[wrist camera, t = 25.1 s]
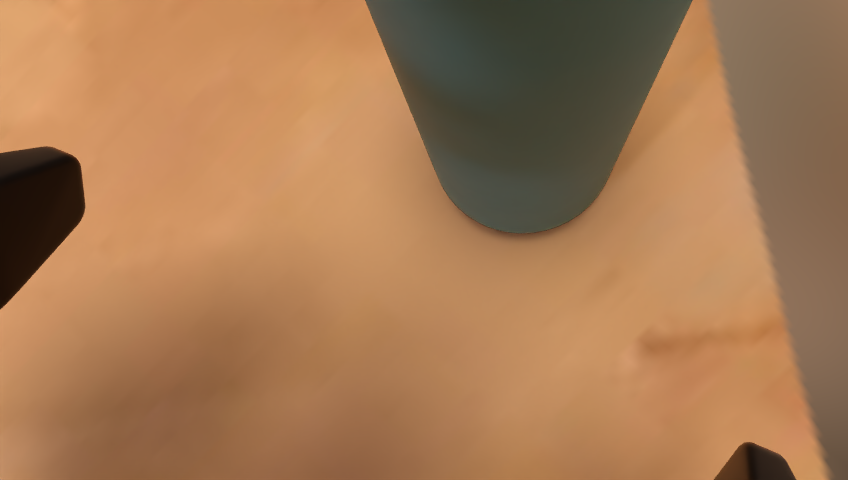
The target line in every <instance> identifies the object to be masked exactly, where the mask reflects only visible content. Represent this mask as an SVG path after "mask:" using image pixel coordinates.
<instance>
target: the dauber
mask: <svg viewBox="0 0 848 480" xmlns="http://www.w3.org/2000/svg"><path fill="white" fill-rule="evenodd" d="M365 1H366V4H367V6H368V8H369V11H370V13H371V16H372V18H373V21H374V23H375V25H376V28H377V30H378V33H379V35H380V38H381V40H382V42H383V45H384V47H385V50H386V52H387V55H388V57H389V59H390V62H391V64H392V67H393V69H394V72H395V74H396V77H397V79H398V81H399V84H400V86H401V89H402V91H403V94H404V96H405V98H406V101H407V103H408V106H409V108H410V111H411V113H412V115H413V118H414V120H415V123H416V125H417V128H418V130H419V132H420V135H421V137H422V140H423V142H424V145H425V147H426V149H427V152H428V154H429V157H430V159H431V162H432V164H433V167H434V169H435V171H436V174H437V176H438V179H439V181H440V183H441V185H442V187H443V189H444V190H445V192H446V193H447V195H448V197H449V198H450V199H451V200H452V201H453V203H454V204H455V205H456V206H457V207H458V208H459V209H460V210H461V211H463V212H464V213H465V214H466V215H467V216H469V217H470V218H472V219H473V220H475V221H477V222H479V223H481V224H483V225H485V226H487V227H490V228H493V229H496V230H500V231H505V232H510V233H535V232H540V231H545V230H549V229H552V228H555V227H558V226H560V225H562V224H564V223H566V222H568V221H570V220H572V219H573V218H575V217H576V216H578V215H579V214H581V213H582V212H583V211H584V210H585V209H586V208H588V207H589V206H590V205H591V203H592V202H593V201H594V200H595V199H596V198H597V196H598V195H599V194H600V192H601V191H602V189H603V188H604V186H605V184H606V182H607V180H608V178H609V176H610V173H611V171H612V169H613V167H614V165H615V163H616V161H617V159H618V157H619V154H620V152H621V150H622V148H623V146H624V144H625V142H626V140H627V137H628V135H629V133H630V131H631V129H632V127H633V125H634V123H635V121H636V118H637V116H638V114H639V112H640V110H641V108H642V106H643V104H644V102H645V99H646V97H647V95H648V93H649V91H650V89H651V87H652V85H653V83H654V80H655V78H656V76H657V74H658V72H659V70H660V68H661V66H662V64H663V61H664V59H665V57H666V55H667V53H668V51H669V49H670V47H671V45H672V42H673V40H674V38H675V36H676V34H677V32H678V30H679V28H680V26H681V23H682V21H683V19H684V17H685V15H686V13H687V11H688V9H689V7H690V4H691V2H692V0H365Z"/></svg>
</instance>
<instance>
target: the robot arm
mask: <svg viewBox="0 0 848 480" xmlns="http://www.w3.org/2000/svg"><path fill="white" fill-rule="evenodd" d="M84 211H85V198H84V189H83V181H82V172H81V166H80V163H79V161H78V160H77V158H75V157H74V156H72V155H70V154H68V153H65V152H63V151H61V150H58V149H56V148H53V147H47V146H46V147H38V148H31V149H25V150H18V151H11V152H5V153H0V309H1V308H3V307H4V306H5V305H6V304H7V303H8V302H9V301H10V299H11V298H12V297H13V296H14V295H15V294H16V293H17V292H18V291H19V290H20V289H21V288H22V287H23V285H24V284H25V283H26V282H27V281H28V280H29V279H30V278H31V277H32V275H33V274H34V273H35V272H36V271H37V270H38V269H39V268H40V266H41V265H42V264H43V263H44V262H45V261H46V260H47V259H48V257H49V256H50V255H51V254H52V253H53V252H54V251H55V250H56V249H57V247H58V246H59V245H60V244H61V243H62V242H63V241H64V240H65V238H66V237H67V236H68V235H69V234H70V233H71V232H72V231H73V229H74V228H75V227H76V226H77V225H78V224H79V222H80V221H81V219H82V217H83V215H84ZM714 480H796V478H795V477H794V475H793V473H792V471H791V469H790V467H789V465H788V463H787V462H786V460H785V459H784V458H783V457H782V456H781V455H779V454H778V453H775V452H773V451H771V450H768V449H766V448H764V447H761V446H759V445H756V444H754V443H751V442H746V443H743V444H742V445H740V446H739V447H738V448H737V450H736V451H735V452H734V454H733V455H732V456H731V458H730V459H729V460H728V462H727V463H726V464H725V466H724V467H723V468H722V470H721V471H720V472H719V474H718V475H717V476H716V477H715V479H714Z"/></svg>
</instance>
